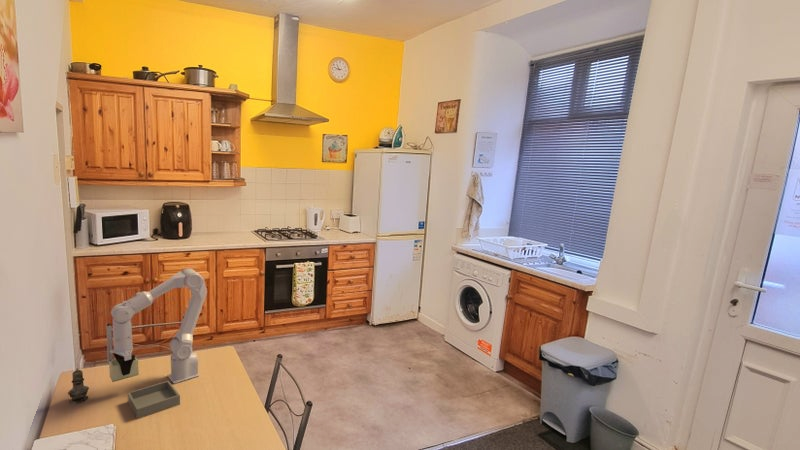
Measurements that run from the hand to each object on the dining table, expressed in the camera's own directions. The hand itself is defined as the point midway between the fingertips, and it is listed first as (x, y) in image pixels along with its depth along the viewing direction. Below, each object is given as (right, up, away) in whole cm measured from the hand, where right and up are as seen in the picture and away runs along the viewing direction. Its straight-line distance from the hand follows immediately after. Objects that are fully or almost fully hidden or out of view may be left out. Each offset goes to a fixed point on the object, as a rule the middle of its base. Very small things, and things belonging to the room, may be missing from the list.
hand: (124, 371), depth 149 cm
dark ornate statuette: (-13, -9, -5) cm, 16 cm away
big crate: (+14, -10, -4) cm, 17 cm away
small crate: (0, -2, 0) cm, 2 cm away
